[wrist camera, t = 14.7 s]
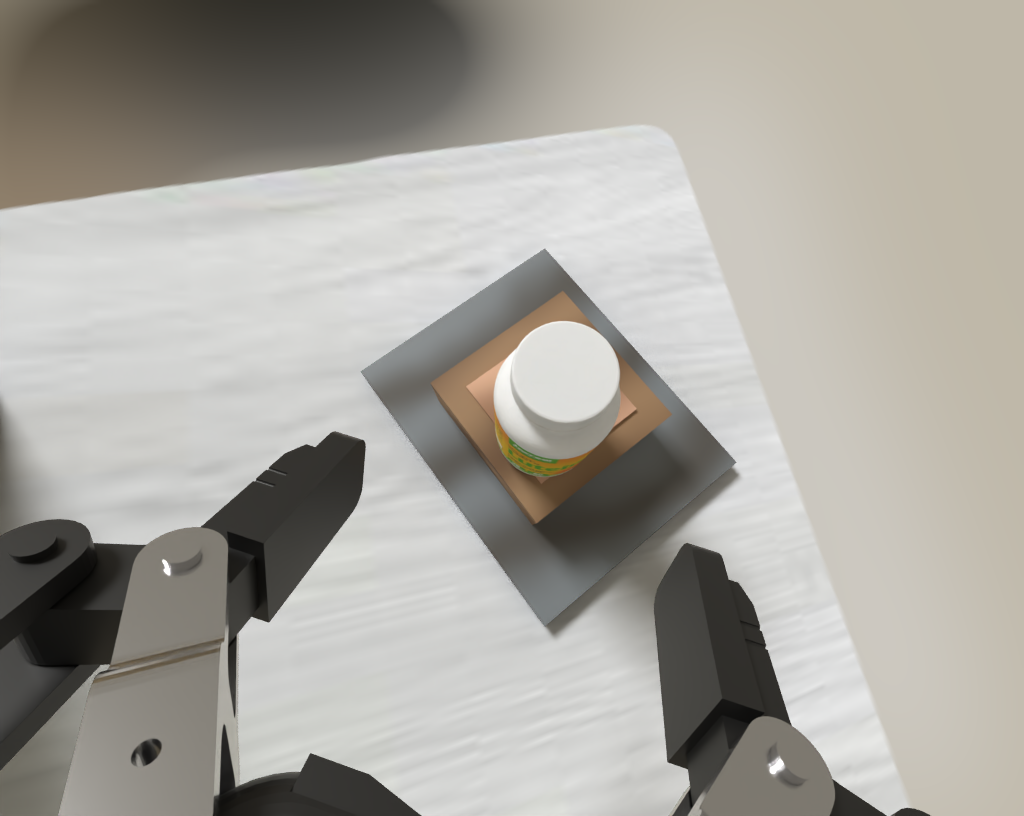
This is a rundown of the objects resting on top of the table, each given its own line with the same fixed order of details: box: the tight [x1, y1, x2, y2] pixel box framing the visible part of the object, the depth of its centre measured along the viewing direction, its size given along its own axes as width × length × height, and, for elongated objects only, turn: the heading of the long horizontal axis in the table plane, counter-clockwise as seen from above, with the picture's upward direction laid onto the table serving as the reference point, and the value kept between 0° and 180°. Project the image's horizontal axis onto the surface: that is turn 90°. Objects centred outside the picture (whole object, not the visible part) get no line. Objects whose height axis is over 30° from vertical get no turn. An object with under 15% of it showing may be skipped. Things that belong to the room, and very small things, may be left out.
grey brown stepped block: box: [361, 249, 736, 626], centre depth 29 cm, size 20×16×5 cm
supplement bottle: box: [494, 321, 621, 477], centre depth 21 cm, size 5×5×10 cm
